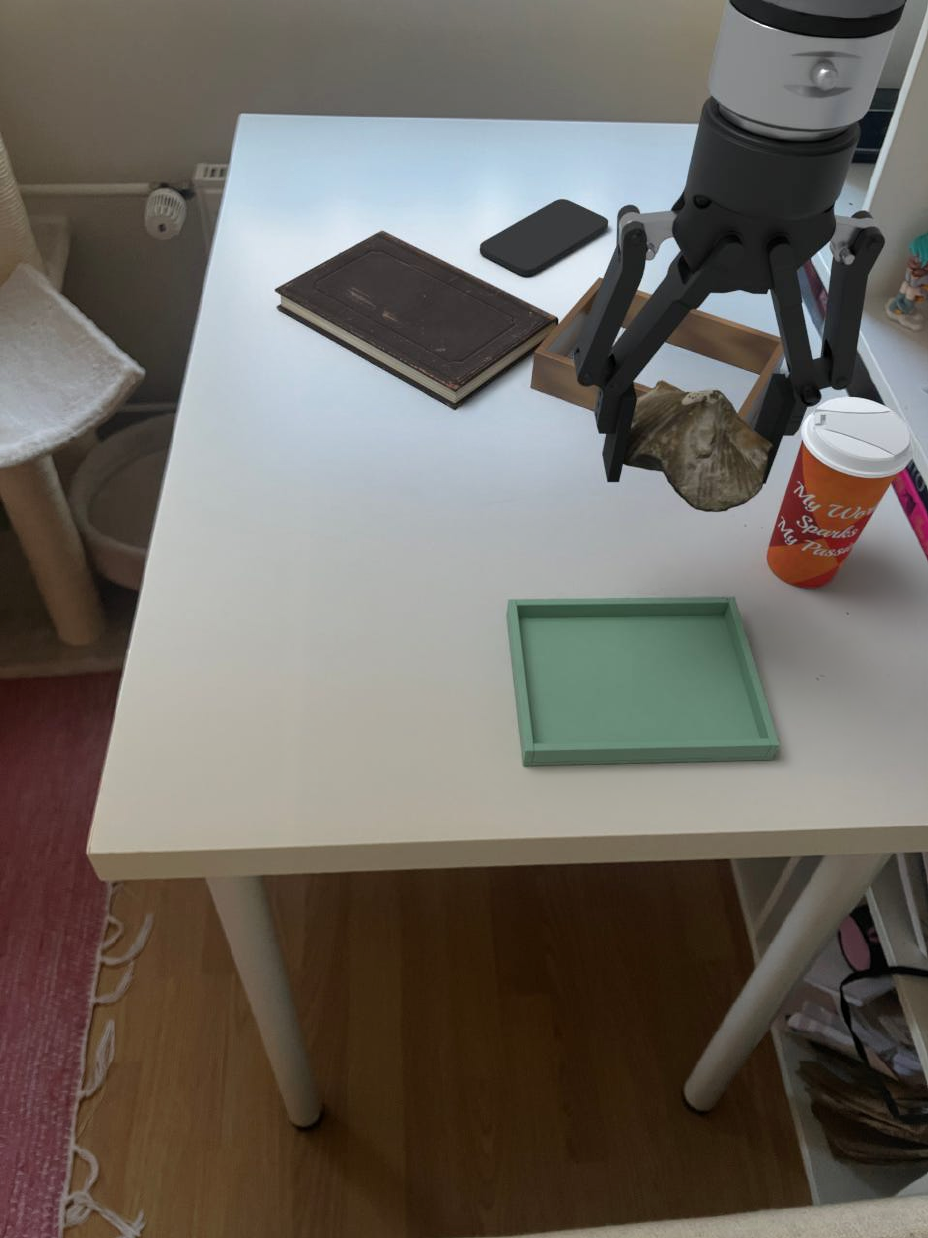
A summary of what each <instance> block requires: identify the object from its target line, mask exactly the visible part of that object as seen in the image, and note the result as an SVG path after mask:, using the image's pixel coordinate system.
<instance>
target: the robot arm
mask: <svg viewBox="0 0 928 1238" xmlns="http://www.w3.org/2000/svg"><path fill="white" fill-rule="evenodd" d="M907 2H908V0H725V4H724V5H725V6H724V9H723V14H722V17H721V23H720V26H719V32H718V35H717V36H718V37H717V38H716V39H717V40H716V44H715V49H714V53H713V56H712V62H711V65H710V69H709V74H708V78H707V88H708V90H709V92H710V95H711V96H710V97H708V98H707V99H706V100H705V102H704V103H703V105H702V108H701V112H700V116H699V121H698V126H697V130H696V135H695V139H694V144H693V148H692V153H691V158H690V161H689V167H688V170H687V171H688V172H687V176H686V182H685V186H684V188H683V191H682V192H681V194H680V196H678V199H677V200H676V201H675V202H674V203H673V205H672V206H671V208H670V210H663V211H653V212H643V213H641V211H640V209H639V208H638V206H636V205H634V204H627V205H623V206H622V207H621V208H620V209H619V211H618V213H617V215H616V241H615V242H616V243H615V248H614V250H613V253H612V255H611V258H610V260H609V263H608V265H607V268H606V270H605V273H604V275H603V277H602V278H603V280H602V282H601V285H600V287H599V290H598V292H597V295H596V297H595V300H594V302H593V304H592V307H591V309H590V312H589V314H588V317H587V319H586V322H585V324H584V326H583V329H582V331H581V334H580V336H579V339H578V341H577V343H576V344H575V345H574V349H573V351H572V358H573V359H572V360H574V364H575V370H576V376H577V381H578V383H579V384H580V385H581V386H584V387H589V386H592V385H595V386H598V387H599V390H598V395H597V401H596V406H595V411H593V413H594V418H595V419H594V420H595V423H596V429H597V432H598V434H599V435H605V437H604V443H603V448H602V453H601V455H602V461H603V467H604V472H605V477H606V483H620V479H621V476H622V472H623V471H622V470H623V466H624V464H623V462H624V458H625V453H626V448H627V444H628V439H629V435H630V430H631V426H632V421H633V416H634V412H635V407H636V403H637V396H636V392H635V387H634V383H633V382H635V380H636V379H637V378H638V376H639V375H640V374H641V373H642V372H643V370H644V369H645V368H646V366H647V365H648V364H649V363H650V362H651V360H653V358H654V357H655V355H656V354H657V353H658V351H659V350H660V349H661V348H662V347H663V346H664V344H665V343H667V342H666V340H667V339H668V338H669V337H670V335H671V334H672V333H673V332H674V330H675V329H676V328H677V327H678V325H679V324H680V323H681V322H682V320H683V319H684V318H685V317H686V315H687V314H688V313H689V312H690V311H691V310H692V309H697V310H698V309H699V308H700V307H701V306H702V305H703V303H704V302H705V301H706V299H708V298H709V296H710V295H711V294H728V293H733V292H738V291H742V292H744V293H749V294H752V295H768V292H769V291H770V297H771V300H772V305H773V311H774V315H775V319H776V324H777V326H778V327H777V328H778V332H779V335H780V336H779V337H781V342H782V346H783V351H784V355H785V357H784V360H785V364H786V369H787V372H788V376H787V375H786V373H779V374H775V373H773V374H772V377H771V380H770V383H769V386H768V389H767V392H766V395H765V398H764V401H763V402H762V404H761V406H760V409H759V410H760V411H759V413H758V417H757V419H756V422H755V426H754V428H753V430H755V431H756V432H757V433H758V434H759V435H760V436H762V437H763V438H764V439H766V440H768V441H769V442H770V443H771V444H772V445H773V448H772V449H770V451H769V453H768V462H767V468H766V471H765V477H764V481H763V485H766V484H767V481H768V479H769V476H770V474H771V471H772V468H773V465H774V463H775V460H776V458H777V454H778V452H779V449H780V446H781V443H782V441H783V438H784V437H794V436H795V435H796V434H797V433H798V432H799V430H800V428H801V427H802V424H803V421H804V418H805V415H806V412H807V410H808V408H810V407H814V406H816V405H818V404H819V403H820V402H821V400H822V398H823V395H822V392H821V390H824V389H828V388H832V389H833V390H835V391H842V390H845V389H847V388H848V387H849V386H850V385H851V384H852V381H853V377H854V372H855V364H856V356H857V350H858V344H859V338H860V332H861V325H862V319H863V311H864V307H865V299H866V292H867V286H868V279H869V275H870V273H871V272H872V270H873V267H874V266H875V264H876V262H877V260H878V258H879V257H880V254H881V252H882V251H883V249H884V247H885V243H886V238H885V237H884V235H883V233H882V231H881V229H880V228H879V226H878V224H877V223H876V221H875V219H874V218H873V215H872V214H871V213H870V211H868V210H866V209H865V210H862V209H861V210H858V211H856V212H855V213H852V215H851V216H850V217H849V216H843V215H839V214H835V205H836V202H837V201H838V199H839V198H840V196H841V193H842V190H843V187H844V184H845V181H846V180H847V179H846V178H847V176H848V172H849V170H850V167H851V164H852V161H853V158H854V155H855V152H856V149H857V146H858V143H859V140H860V137H861V131H862V130H861V125H860V124H859V121H860V120H862V119H864V117H865V116H866V114H867V113H868V112H869V110H870V107H871V104H872V101H873V98H874V96H875V94H876V90H877V87H878V84H879V81H880V78H881V75H882V72H883V70H884V67H885V64H886V61H887V58H888V55H889V52H890V49H891V47H892V43H893V40H894V38H895V34H896V32H897V29H898V26H899V23H900V21H901V19H902V16H903V13H904V10H905V6H906V4H907ZM671 238H673V239H674V241H675V243H676V245H677V247H678V249H679V252H678V253H677V254H676V255H675V257H674V258H673V259H672V261H671V262H670V264H669V266H668V268H667V272H666V275H665V277H664V278H663V280H662V281H661V282H660V284H659V285H658V286H657V287H656V289H655V290H654V291H653V293H651V294H652V295H651V297H650V298H649V299H648V301H647V302H646V303H645V305H644V306H643V307H642V309H641V310H640V311H639V312H638V314H637V315H636V316H635V318H634V319H633V320H632V322H631V323H630V324H629V326H628V327H627V328H625V329H624V330H623V332H622V333H621V334H620V336H619V338H617V337H618V335H619V333H620V330H621V328H622V327H621V326H622V323H623V321H624V319H625V317H626V314H627V312H628V310H629V307H630V305H631V303H632V301H633V298H634V296H635V294H636V292H637V290H639V287H640V285H641V282H642V280H643V277H644V273H645V270H646V262H647V261H649V262H650V261H653V260H654V259H655V258H656V256H657V254H658V253H659V250H660V247H661V245H662V244H663V243H664V241H666V240H668V239H671ZM828 243H829V250H830V253H831V254H832V258H831V259H832V260H831V268H830V274H829V282H828V283H829V284H828V291H827V299H826V306H825V307H826V308H825V315H824V324H823V332H822V340H821V349H820V355H819V356H820V357H816V358H813V353H812V347H811V343H810V337H809V332H808V328H807V323H806V317H805V313H804V312H805V311H804V307H803V303H804V301H803V297H802V290H801V285H800V280H799V275H798V270H799V269H801V268H802V267H803V266H804V265H805V264H806V263H807V262H808V261H810V260H811V259H812V258H813V257H814V256H815V255H816V254H817V253H819V251H821V250H822V249H823V248H824V247H826V246H827V245H828ZM616 339H617V340H616Z"/></svg>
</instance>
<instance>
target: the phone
mask: <svg viewBox="0 0 928 1238" xmlns="http://www.w3.org/2000/svg"><path fill="white" fill-rule="evenodd" d="M608 226H609V219H608V218H606V217H605V216H603V215H601V214H599V213H598V212H594V211H593V210H591V209H589V208H586V207H584V206H583V205H580V204H578V203H576V202H574V201H572V200H569V199H566V198H558V199H556V200H554V201H552V202H550V203H549V204H546V205H545V206H543V207H542V208H540V209H538V210H536V211H534V212H532V213H531V214H529V215H527V216H526V217H523V218H521V219H520V220H518V221H517V222H515V223H513V224H511V225H510V226H508V227H506V228H505V229H503V230H501V231H499V232H497V233H496V234H494V235H492V236H490V237H488V238H487V239H485V240H484V241H482V242H481V243H480V244H479V254H481V255H482V256H484V257H485V258H487V259H489V260H490V261H493V262H495V263H497V264H499V265H500V266H503V267H504V268H506V269H508V270H510V271H512V272H514V273H516V274H518V275H521V276H526V277H528V276H532V275H535V274H536V273H538V272H540V271H542V270H543V269H545V268H546V267H548V266H550V265H552V264H553V263H555V262H556V261H558V260H559V259H561V258H562V257H564V256H566V255H567V254H569V253H570V252H572V251H574V250H576V249H577V248H578V247H580V246H582V245H584V244H585V243H587V242H589V241H590V240H592V239H593V238H595V237H596V236H599V235H600V234H601V233H603V232H604V231H606V230H607V229H608Z"/></svg>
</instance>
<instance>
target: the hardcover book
mask: <svg viewBox="0 0 928 1238" xmlns="http://www.w3.org/2000/svg"><path fill="white" fill-rule="evenodd" d="M274 292H275V293H277V294H278V295H279V296H280V304H278V305H276V309H277V310H278V311H280V312H282V313H284V314H285V315H287V316H289V317H291V318H293V319H295V320H296V321H298V322H299V323H301V324H303V325H305V326H307V327H308V328H310V329H312V330H313V331H316V332H318V333H319V334H321V335H323V336H324V337H326V338H328V339H329V340H331V341H333V342H335V343H337V344H339V345H341V346H342V347H344V348H346V349H347V350H349V351H351V352H353V353H354V354H356V355H358V356H360V357H361V358H363V359H365V360H366V361H369V362H370V363H372V364H374V365H375V366H377V367H379V368H381V369H383V370H384V371H386V372H388V373H389V374H391V375H394V376H395V377H397V378H399V379H400V380H402V381H403V382H406V383H407V384H409V385H411V386H413V387H414V388H416V389H418V390H420V391H421V392H423V393H425V394H426V395H429V396H430V397H432V398H434V399H435V400H437V401H439V402H440V403H443V404H444V405H445V406H448V407H449V408H451V409H453V410H455V409H457V408H458V407H459V406H461V405H462V404H463V403H465V402H466V401H468V400H469V399H470V398H471V397H473V396H474V395H476V394H477V393H479V392H480V391H481V390H483V389H484V388H486V387H487V386H488V385H489V384H491V383H493V382H494V381H495V380H496V379H498V378H499V377H501V376H502V375H503V374H505V373H506V372H508V371H509V370H510V369H512V368H513V367H515V366H516V365H517V364H518V363H520V362H521V361H522V360H524V359H525V358H527V357H528V356H529V355H531V354H533V353H535V351H536V349H537V348H538V347H539V346H540V345H541V344H542V342H543V341H544V340H545V339H546V338H547V337H548V336H549V334H550V333H551V332H552V331H553V330H554V329H555V327H556V326H557V325H558V324H559V323H560V322H559V321H560V320H559V317H557V316H556V315H554V314H552V313H550V312H548V311H546V310H544V309H542V308H540V307H538V306H536V305H534V304H531V303H529V302H527V301H526V300H523V299H522V298H520V297H517V296H516V295H513V294H511V293H509V292H508V291H505V290H503V289H501V288H499V287H498V286H495V285H494V284H491V283H489V282H487V281H485V280H483V279H481V278H479V277H477V276H475V275H473V274H472V273H469V272H467V271H465V270H463V269H461V268H459V267H457V266H455V265H453V264H451V263H449V262H447V261H446V260H443V259H441V258H439V257H437V256H435V255H433V254H431V253H429V252H427V251H425V250H423V249H421V248H419V247H417V246H415V245H413V244H411V243H409V242H406V241H405V240H403V239H401V238H399V237H397V236H395V235H393V234H390V233H389V232H386V231H385V230H379V231H378V232H375V233H374V234H372V235H370V236H369V237H367V238H365V239H363V240H361V241H360V242H357V243H356V244H354V245H352V246H351V247H349V248H347V249H345V250H343V251H342V252H340V253H338V254H336V255H334V256H332V257H330V258H329V259H327V260H325V261H323V262H321V263H319V264H317V265H316V266H314V267H312V268H310V269H309V270H307V271H304V272H303V273H301V274H300V275H298V276H295V277H294V278H292V279H290V280H289V281H287V282H285V283H283V284H281V285H279V286H278V287H276V288H274Z"/></svg>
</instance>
